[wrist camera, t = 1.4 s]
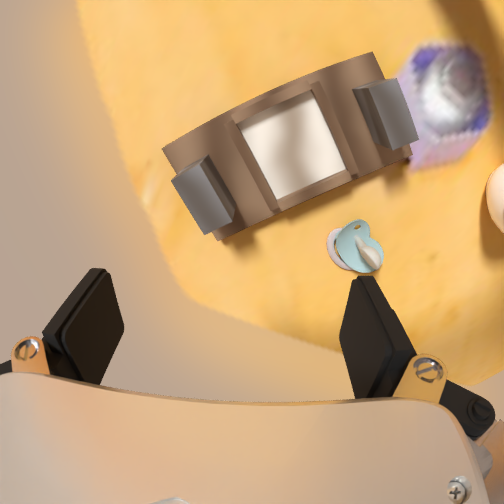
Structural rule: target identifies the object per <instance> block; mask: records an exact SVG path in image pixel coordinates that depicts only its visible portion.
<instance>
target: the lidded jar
mask: <svg viewBox="0 0 504 504" xmlns="http://www.w3.org/2000/svg"><path fill="white" fill-rule="evenodd" d="M486 199H487V207H488V210H489V213H490V216H491V218H492V220H493V222H494V223H495V224H496V226H497V227H498V228H499V229H500V230H501V232H502V233H503V234H504V163H503V164H501V165H500V166H499V167H498V168H497V169H496V170H494V171H493V172H492V173H491V175H490V177H489V179H488V181H487V185H486Z"/></svg>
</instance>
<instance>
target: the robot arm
mask: <svg viewBox="0 0 504 504" xmlns="http://www.w3.org/2000/svg"><path fill="white" fill-rule="evenodd" d="M123 332H124V323H123V320H122V316H121V313H120V309H119V306H118V302H117V298H116V295H115V291H114V287H113V283H112V279H111V275H110V273H108V272H107V271H106V270H105V269H101V268H92V269H90V270H89V272H88V273H87V274H86V275H85V276H84V278H83V279H82V280H81V281H80V283H79V284H78V285H77V286H76V288H75V289H74V290H73V291H72V293H71V294H70V295H69V297H68V298H67V299H66V301H65V302H64V303H63V304H62V306H61V307H60V308H59V310H58V311H57V312H56V314H55V315H54V316H53V318H52V319H51V320H50V322H49V323H48V325H47V326H46V327H45V329H44V330H43V332H42V333H43V336H44V337H43V338H42V340H41V339H39V338H38V337H33V336H30V337H25V338H23V339H21V340H20V341H19V342H17V343H16V344H15V346H14V347H13V349H12V352H11V360H9V361H7V362H5V363H2V364H0V504H504V422H503V421H502V420H499V421H498V422H497V421H496V420H495V411H494V408H493V406H492V405H491V404H490V402H489V401H487V400H486V399H484V398H483V397H481V396H479V395H477V394H474V393H472V392H471V391H469V390H467V389H465V388H463V387H461V386H459V385H457V384H455V383H453V382H451V381H449V380H447V369H446V367H445V365H444V363H443V362H442V361H441V360H439V359H438V358H436V357H434V356H432V355H429V354H420V355H417V354H416V352H415V350H414V348H413V346H412V344H411V342H410V340H409V338H408V336H407V334H406V332H405V330H404V328H403V326H402V324H401V322H400V321H399V319H398V317H397V315H396V313H395V311H394V310H393V309H391V307H390V305H389V303H388V302H387V300H386V298H385V296H384V294H383V293H382V291H381V289H380V287H379V285H378V284H377V282H376V280H375V278H374V277H373V276H358V277H357V279H354V280H353V281H352V283H351V288H350V292H349V297H348V301H347V305H346V310H345V314H344V318H343V322H342V326H341V329H340V334H339V339H340V344H341V348H342V351H343V355H344V358H345V362H346V365H347V369H348V373H349V376H350V380H351V384H352V388H353V392H354V396H355V399H349V400H333V401H312V402H311V401H310V402H238V401H219V400H204V399H192V398H181V397H172V396H164V395H156V394H149V393H142V392H135V391H129V390H123V389H117V388H112V387H106V386H101V385H100V383H101V381H102V378H103V376H104V374H105V371H106V369H107V367H108V365H109V363H110V360H111V358H112V356H113V354H114V352H115V349H116V347H117V345H118V343H119V341H120V339H121V337H122V335H123Z"/></svg>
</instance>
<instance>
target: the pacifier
mask: <svg viewBox="0 0 504 504" xmlns="http://www.w3.org/2000/svg"><path fill="white" fill-rule="evenodd" d="M356 225H360V228H359V229H354V228H355V226H356ZM369 235H370V228H369V225H368V224H367V222H365V221H364V220H361V219H358V220H354V221H352V222H350V223H348V224H347V225H346V226H344V227H343V228H337V229H334V230H333V231H332V232H331V233H330V234H329V236H328V238H327V250H328V253H329V255H330V257H331V259H332V260H333V261H334V262H335V263H336V264H337V265H338V266H340V267H341V268H344V269H346V270H356V271H358V272H362V273H368V272H373V271H375V270H378V269H379V268H380V266H381V264H382V262H383V258H384V254H383V250H382V248H381V246H380V244H379V243H378V242H377V241H375V240H374V239H372V238H370V236H369ZM335 239H336V247H337V251H338V253H339V255H340V257H341V258H342V259H343V260H342V259H341V258H339V256H338V255H337V254H336V252H335V249H334V241H335Z"/></svg>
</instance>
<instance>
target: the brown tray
mask: <svg viewBox="0 0 504 504" xmlns="http://www.w3.org/2000/svg"><path fill="white" fill-rule="evenodd" d="M417 140H419V138H418V135H417V132H416V129H415V126H414V123H413V120H412V117H411V114H410V112H409V109H408V106H407V103H406V101H405V98H404V95H403V93H402V90H401V88H400V85H399V83H398V81H397V78H395V79H385V78H384V76H383V73H382V71H381V69H380V67H379V65H378V62H377V60H376V58H375V56H374V54H373V52H370V53H367V54H363V55H360V56H357V57H354V58H351V59H348V60H345V61H342V62H340V63H337V64H334V65H331V66H329V67H326V68H323V69H321V70H318V71H315V72H313V73H310V74H308V75H305V76H303V77H300V78H298V79H296V80H293V81H291V82H288V83H286V84H284V85H281V86H279V87H277V88H275V89H272V90H270V91H268V92H266V93H264V94H262V95H259V96H257V97H255V98H253V99H251V100H249V101H247V102H245V103H243V104H241V105H239V106H237V107H235V108H233V109H231V110H229V111H227V112H225V113H223V114H221V115H219V116H217V117H216V118H214V119H212V120H210V121H208V122H206V123H204V124H203V125H201V126H199V127H197V128H196V129H194V130H192V131H190V132H189V133H187V134H185V135H183V136H182V137H180V138H178V139H177V140H175V141H173V142H172V143H170V144H168V145H167V146H165V147H163V148H162V150H163V152H164V154H165V155H166V157H167V159H168V160H169V162H170V164H171V165H172V167H173V169H174V170H175V172H176V174H177V175H176V176H175V177H174V178H173V179H172V180H171V182H172V183H173V185H174V187H175V188H176V190H177V192H178V193H179V195H180V197H181V198H182V200H183V202H184V203H185V205H186V206H187V208H188V210H189V211H190V213H191V215H192V216H193V218H194V219H195V221H196V223H197V224H198V226H199V227H200V229H201V231H202V232H203V234H204V235H206V234H208V233H210V232H212V233H213V235H214V236H215V238H216V240H217V241H219V240H222V239H224V238H226V237H228V236H230V235H232V234H234V233H237V232H239V231H241V230H243V229H245V228H247V227H250V226H252V225H254V224H256V223H258V222H261V221H263V220H265V219H267V218H269V217H271V216H274V215H276V214H278V213H280V212H282V211H285V210H287V209H289V208H291V207H294V206H296V205H298V204H300V203H302V202H305V201H307V200H309V199H311V198H314V197H316V196H318V195H320V194H323V193H325V192H327V191H330V190H332V189H334V188H336V187H339V186H341V185H343V184H346V183H348V182H350V181H352V180H355V179H357V178H359V177H362V176H364V175H366V174H369V173H371V172H373V171H376V170H378V169H380V168H383V167H385V166H387V165H390V164H392V163H394V162H397V161H399V160H402V159H404V158H406V157H409V156H411V155H413V154H412V151H411V148H410V145H409V144H410V143H412V142H415V141H417Z"/></svg>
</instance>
